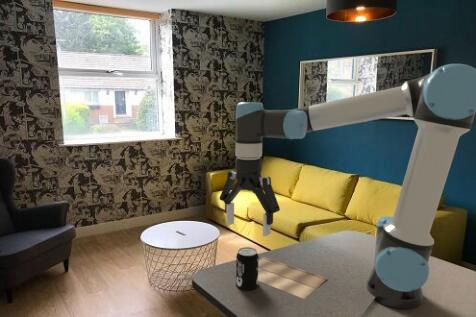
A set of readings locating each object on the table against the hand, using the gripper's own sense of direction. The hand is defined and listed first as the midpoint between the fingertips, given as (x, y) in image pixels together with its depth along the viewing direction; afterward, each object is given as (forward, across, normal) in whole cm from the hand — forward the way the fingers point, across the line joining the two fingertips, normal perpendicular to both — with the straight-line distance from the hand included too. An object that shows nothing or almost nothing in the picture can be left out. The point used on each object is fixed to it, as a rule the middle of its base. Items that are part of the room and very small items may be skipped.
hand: (247, 229), depth 105 cm
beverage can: (+19, 0, 0) cm, 19 cm away
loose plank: (+18, -5, -15) cm, 24 cm away
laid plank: (+19, -5, -8) cm, 21 cm away
